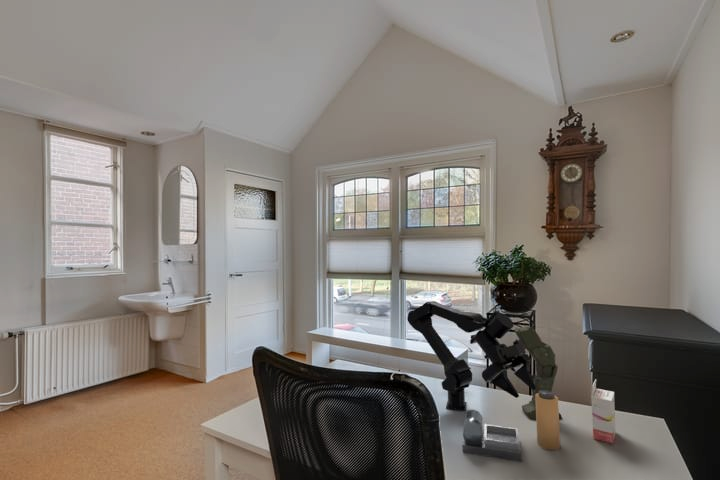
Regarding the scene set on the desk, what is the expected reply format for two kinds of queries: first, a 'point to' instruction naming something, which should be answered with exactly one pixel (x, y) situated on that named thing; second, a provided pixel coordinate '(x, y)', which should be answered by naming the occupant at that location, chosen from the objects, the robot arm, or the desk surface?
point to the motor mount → (490, 439)
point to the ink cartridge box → (603, 414)
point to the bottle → (547, 420)
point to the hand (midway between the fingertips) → (526, 393)
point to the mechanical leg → (538, 365)
